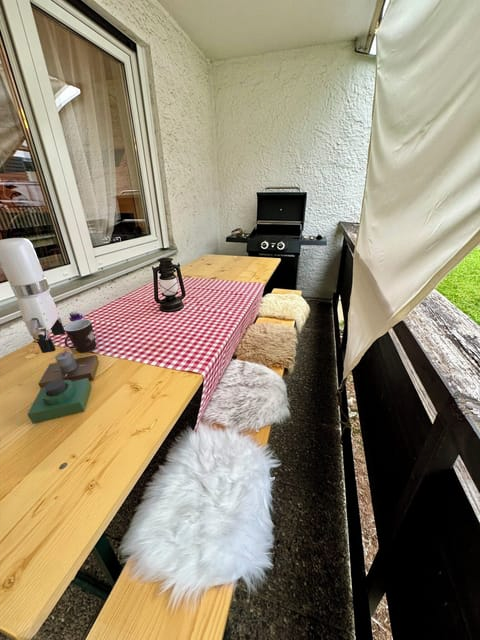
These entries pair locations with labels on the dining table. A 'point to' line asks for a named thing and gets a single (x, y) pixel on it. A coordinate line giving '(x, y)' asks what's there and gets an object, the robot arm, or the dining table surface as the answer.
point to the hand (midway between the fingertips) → (54, 342)
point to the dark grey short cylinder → (56, 387)
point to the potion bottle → (75, 316)
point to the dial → (66, 361)
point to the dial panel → (82, 371)
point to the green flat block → (61, 402)
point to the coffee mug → (81, 335)
